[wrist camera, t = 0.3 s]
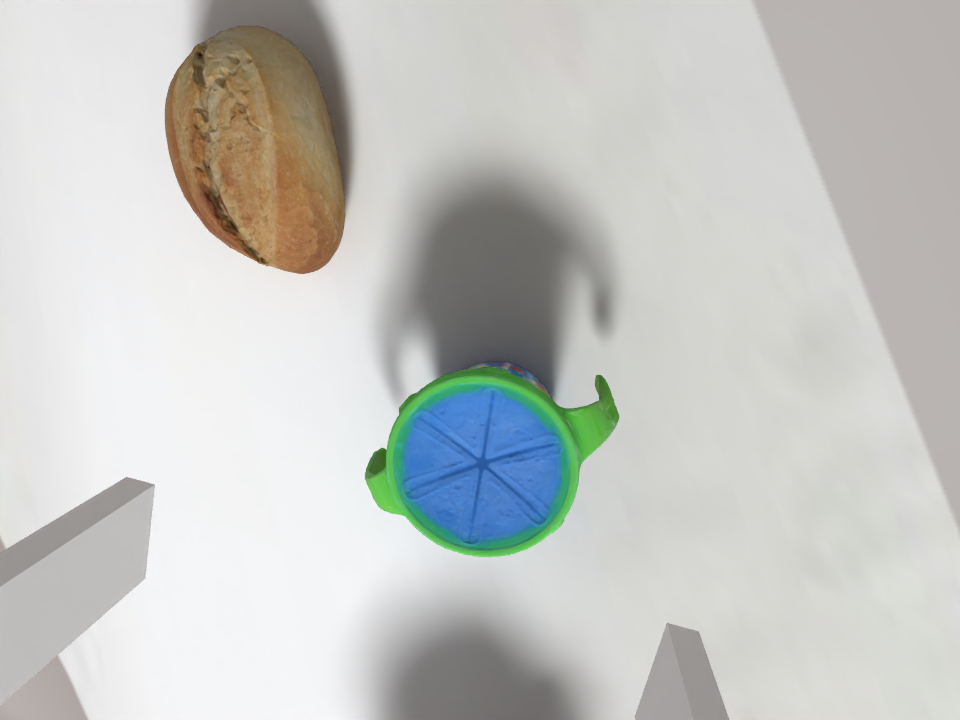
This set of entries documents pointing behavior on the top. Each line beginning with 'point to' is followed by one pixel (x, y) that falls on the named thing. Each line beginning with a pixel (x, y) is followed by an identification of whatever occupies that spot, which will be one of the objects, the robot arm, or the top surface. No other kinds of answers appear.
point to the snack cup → (487, 459)
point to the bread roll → (257, 149)
